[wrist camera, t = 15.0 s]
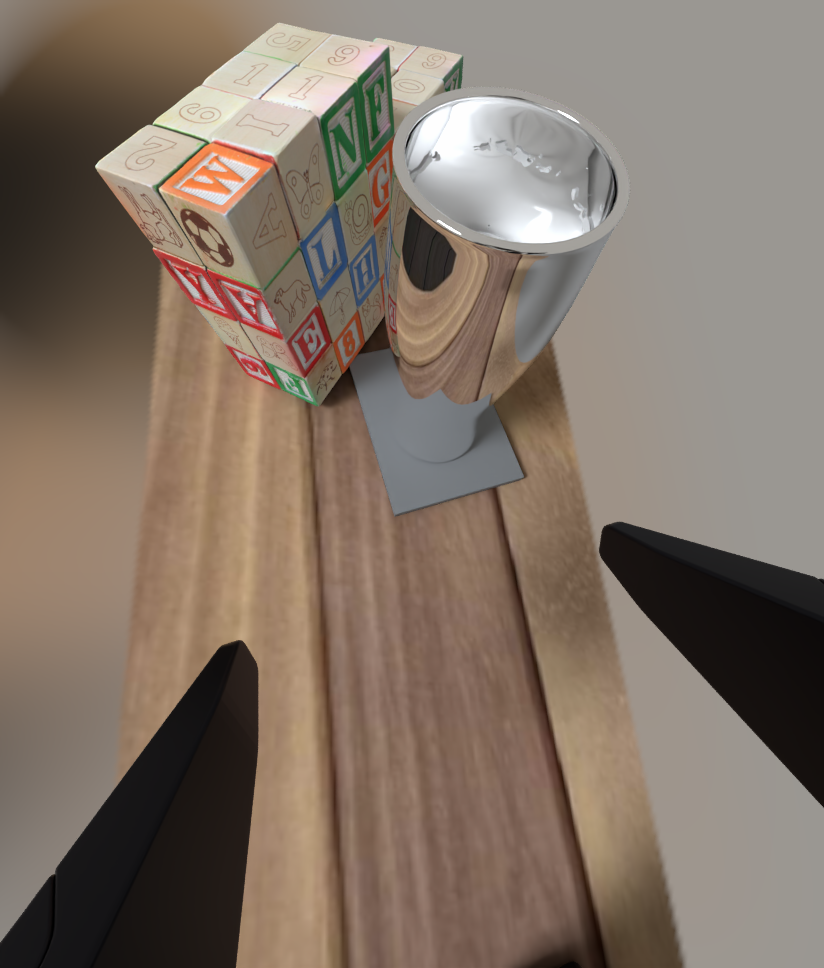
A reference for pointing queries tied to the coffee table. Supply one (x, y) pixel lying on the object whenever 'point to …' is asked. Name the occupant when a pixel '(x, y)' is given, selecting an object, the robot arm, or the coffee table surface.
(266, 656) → the coffee table surface
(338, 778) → the coffee table surface
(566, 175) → the chrome tapered cup
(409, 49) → the stack of blocks
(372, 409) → the charcoal mat
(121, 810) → the robot arm
